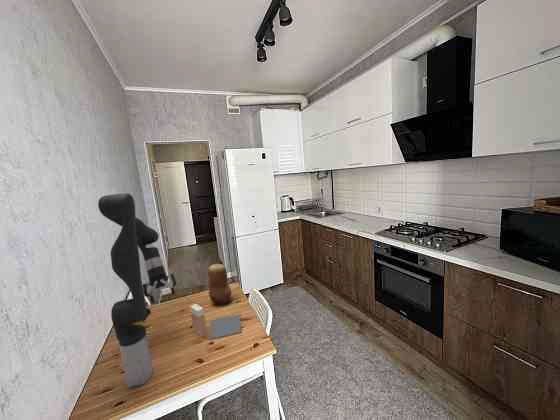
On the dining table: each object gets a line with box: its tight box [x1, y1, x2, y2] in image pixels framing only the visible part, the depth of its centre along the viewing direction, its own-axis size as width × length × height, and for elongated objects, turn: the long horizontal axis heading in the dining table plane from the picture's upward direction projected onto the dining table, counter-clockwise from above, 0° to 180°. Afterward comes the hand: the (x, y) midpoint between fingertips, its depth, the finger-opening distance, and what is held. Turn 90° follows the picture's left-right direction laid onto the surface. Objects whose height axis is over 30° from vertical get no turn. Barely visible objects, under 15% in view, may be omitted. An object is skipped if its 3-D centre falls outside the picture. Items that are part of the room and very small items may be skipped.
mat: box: [208, 313, 243, 341], centre depth 120 cm, size 16×16×1 cm
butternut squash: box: [207, 263, 232, 305], centre depth 144 cm, size 14×13×25 cm
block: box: [189, 303, 208, 338], centre depth 116 cm, size 3×8×14 cm, turn 49°
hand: (164, 299), depth 110 cm, fingers open, 8 cm apart
